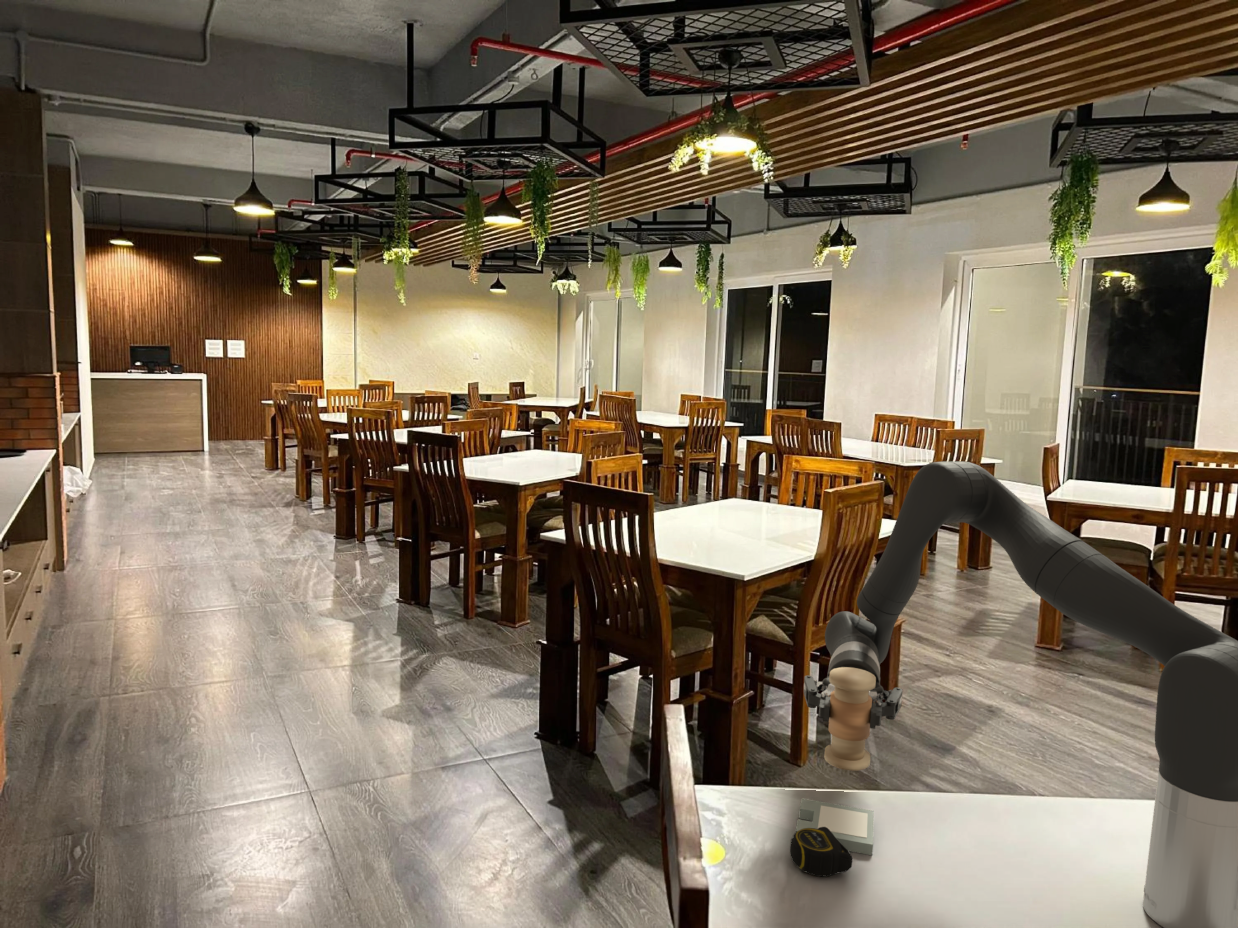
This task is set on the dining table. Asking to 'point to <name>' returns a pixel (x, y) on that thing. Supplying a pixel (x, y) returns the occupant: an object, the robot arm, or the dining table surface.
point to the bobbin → (849, 718)
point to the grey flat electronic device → (840, 823)
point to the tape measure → (819, 852)
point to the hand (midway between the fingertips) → (849, 718)
